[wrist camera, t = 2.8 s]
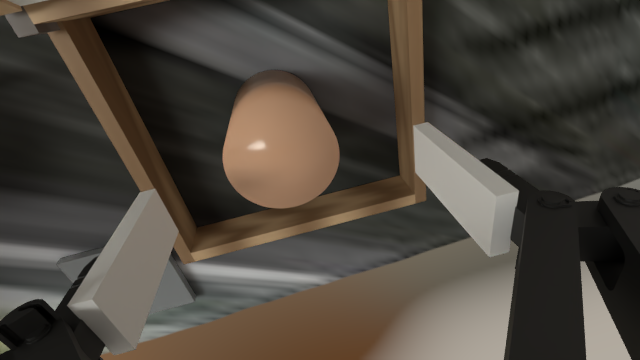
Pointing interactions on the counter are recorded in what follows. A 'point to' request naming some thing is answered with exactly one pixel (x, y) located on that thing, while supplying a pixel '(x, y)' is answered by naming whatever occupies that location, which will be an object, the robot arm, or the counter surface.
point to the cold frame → (149, 169)
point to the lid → (14, 5)
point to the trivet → (168, 293)
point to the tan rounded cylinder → (279, 142)
